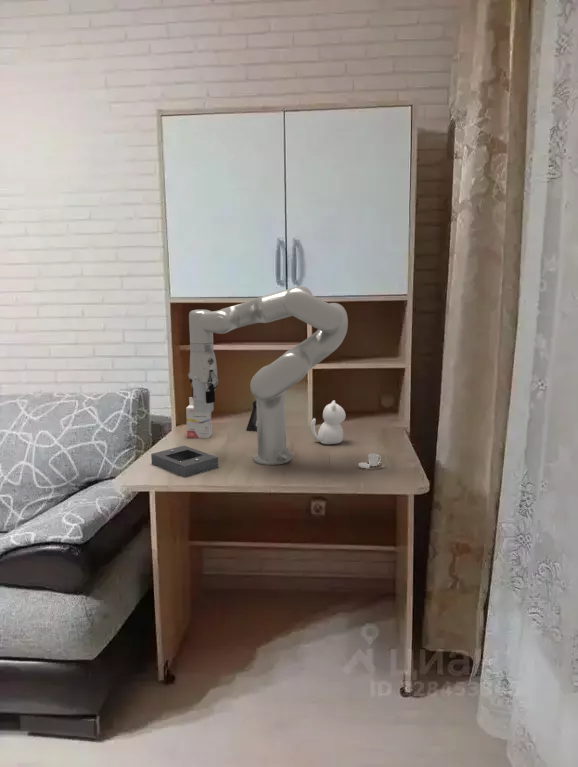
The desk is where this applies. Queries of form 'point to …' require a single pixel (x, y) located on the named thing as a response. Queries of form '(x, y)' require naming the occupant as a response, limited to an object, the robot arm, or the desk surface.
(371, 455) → the teacup and saucer
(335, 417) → the cat figurine
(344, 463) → the desk surface
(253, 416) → the phone stand
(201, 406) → the skincare box
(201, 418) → the ink cartridge box
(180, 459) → the grey rectangular frame
